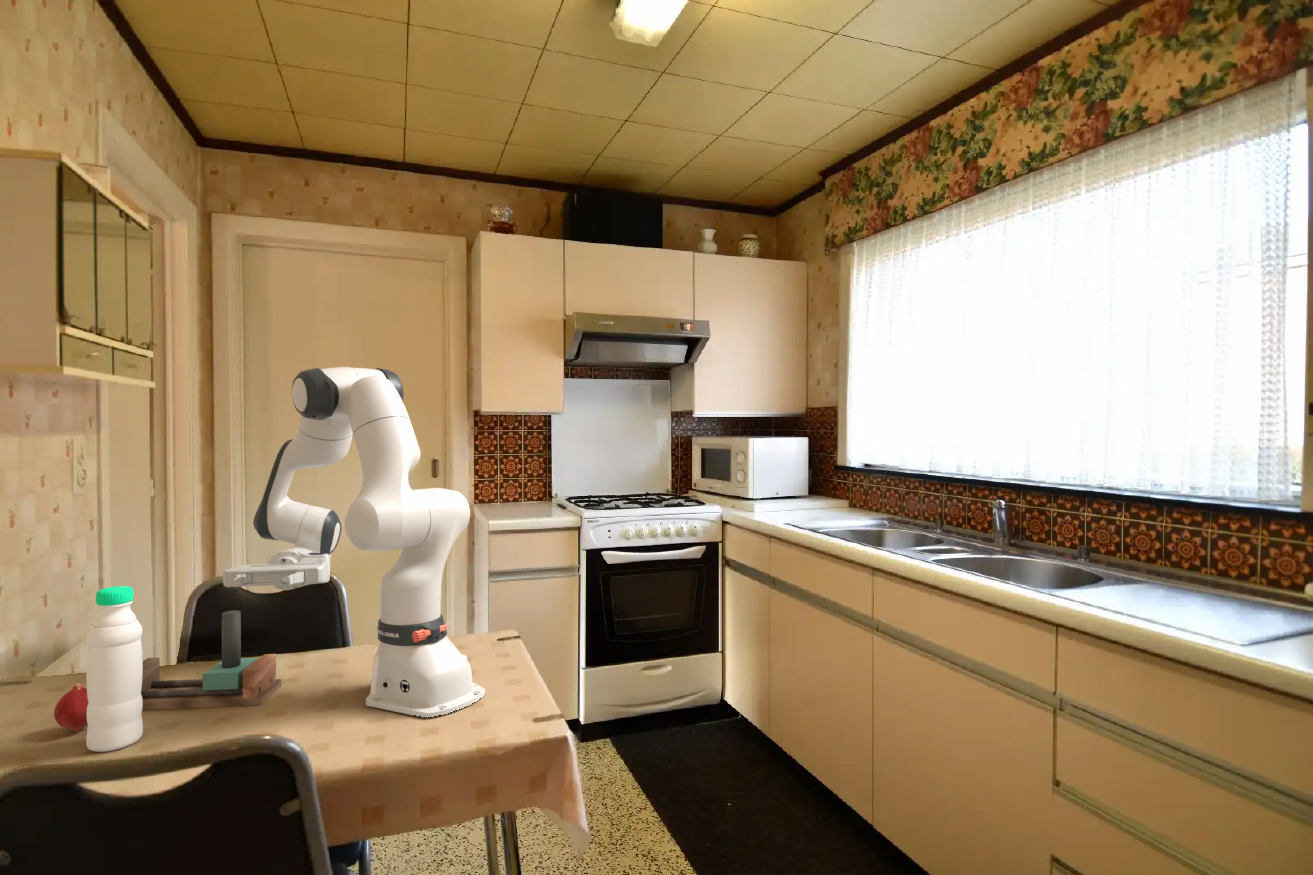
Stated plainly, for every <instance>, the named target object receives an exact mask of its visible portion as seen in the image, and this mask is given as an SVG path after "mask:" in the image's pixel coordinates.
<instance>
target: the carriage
mask: <svg viewBox="0 0 1313 875" xmlns="http://www.w3.org/2000/svg"><path fill="white" fill-rule="evenodd" d="M241 614H242V611H241V610H228V611H224V612H222V613H221V661H220V662H218V663H217V664H215V665H213V666H212V667H211V668H209V669H208V670H206V671H205V672H203V673H202V679H203V690H222V689H238V688H240V687H241V686H242V685H243V670H244V669H246V668H247V667H248V666H250V665H251V664H252V663H254V662H255V661H256V660H258V659H259V657H242V652H241V651H242V650H241V649H242V648H241V647H242V645H241V644H242V640H241V637H242V635H241V634H242V627H241V625H242V623H241V622H242V615H241Z"/></svg>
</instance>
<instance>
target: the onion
mask: <svg viewBox="0 0 1313 875" xmlns="http://www.w3.org/2000/svg"><path fill="white" fill-rule="evenodd" d="M87 706H88V697H87V687H84V686H83V685H82V684H81V683H75V684H74V685H73V686H72V689H71V690H69V691H68V692H66V693H65V694H64V695H63V696H62V697H61V698H60V699H59V700H58V701H57V703H56V705H55V707H54V710H53V717H54V720H55V721H56V723H57V724H58V725H59V726H61V727H62V728H65V729H68V730H70V731H71V732H74V733H78V732H80V731H82V730H83V729H84V728H85V727H88V723H87Z"/></svg>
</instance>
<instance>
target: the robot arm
mask: <svg viewBox="0 0 1313 875" xmlns="http://www.w3.org/2000/svg"><path fill="white" fill-rule="evenodd" d="M404 396H405V394H404V386H403V383H402V381H401V379H400V378H399V375H398V374H396V372H394V371H393V370H389V369H387V368H379V367H377V368H367V367H350V366H338V367H337V366H336V367H334V366H333V367H327V368H318V367H316V368H308V369H305V370H302V371H300V372H299V373H298V374H297V375H296V376H295V378H294V379H293V380H292V386H291V397H292V403H293V406H294V408H295V410H296V412H297V413H298V414H300V418H299V424H298V429H297V430H298V431H297V433H296V434H295V437H294V438H292V439H289V440H287V441H285V442H284V443H283V444H282V445H281V447H280V449H279V450H278V452H277V454H276V457H275V460H274V462H273V465H272V468H271V471H270V474H269V476H268V480H267V484H266V486H265V489H264V493H263V495H262V499H261V501H260V503H259V505H258V508H257V510H256V512H255V515H254V518H253V521H252V522H253V523H252V524H253V527H254V529H255V531H256V533H257V534H258V535H259V537H260V538H262V539H263V540H271V541H280V542H284V543H289V544H294V546H292V547H290V548H287V549H284V550H282V551H279V552H276V553H275V554H273V555H272V556H271V557H270V559H269V560H268V562H267V563H256V564H254V563H253V564H243V565H237V566H234V567H231V568H228V569H225V570H223V572H222V582H223V583H222V584H223V586H224V587H226V588H242V587H262V586H263V587H265V586H273V587H274V588H275V589H278V590H283V591H289V590H294V589H297V588H301V587H304V586H311V585H318V584H325V583H329V581H330V579H331V578H330V577H331V558H332V553H333V552H334V551H335V550H336V548H337V547H338V544H339V542H340V538H341V533H342V522H341V520H340V518H339V515H338V513H336V512H335V510H333V509H328V508H325V507H321V506H316V505H311V504H307V503H303V502H299V501H294V500H292V499H291V498H290V497H289V496H288V492H289V489H290V486H291V484H292V480H293V477H294V475H295V472H297V471H300V470H306V469H319V468H320V469H321V468H326V467H329V466H332V465H334V464H336V463H338V462H340V461H342V460H343V459H345V457H346V456H347V455H348V453H349V451H350V448H351V445H352V442H353V440H352V439H354V442H355V445H356V448H357V452H358V457H359V460H360V464H361V470H362V482H361V487H360V491H359V494H358V495H357V497H356V498H355V500H354V501H353V502H352V503H351V504H350V505H349V507H348V509H347V511H346V514H345V517H344V518H345V519H344V531H345V533H346V536H347V538H348V540H349V542H350V543H351V544H352V545H353V546H354V547H355V548H356V549H358V550H360V551H368V552H369V551H370V552H389V551H396V550H401V549H402V551H401V553H400V554H399V557H398V559H397V561H396V562H395V563H394V565H393V566H392V567H391V568H390V569H388V570H387V571H386V572H385V574H384V575H383V576H382V579H381V582H380V591H379V592H380V595H379V597H380V605H379V606H380V607H379V608H380V617H379V619H378V621H377V627H376V632H377V640H378V641H379V644H378V648H377V650H376V654H375V655H374V658H373V663H372V664H373V665H372V674H371V684H370V693H369V695H368V696H367V697H366V699H365V703H364V704H365V707H370V708H377V709H380V710H385V711H391V712H394V713H395V712H396V713H401V714H405V715H409V716H414V715H416V716H415V717H419V716H421V717H420V718H424V717H425V719H429V718H428V717H432V716H437V717H439V716H438V715H442V716H445V715H448V713H449V714H451V713H450V712H452V713H454V712H453V711H455V710H457V711H459V709H460V710H462V709H464V707H465V708H467V707H469V706H471V705H473V704H475V703H477V702H478V701H479V699H480V698H481V699H483V697H484V696H485V695H486V689H485V688H484V687H483V686H482V685H479V684H477V683H475V682H473V674H472V672H473V671H472V667H471V664H470V662H469V660H468V657H467V656H466V654H463V653H461V651H459V649H458V648H457V646H455V644H454V643H453V641H451V640H450V639H449V637H448V636H447V635H448V630H450V629H451V627H448V626H450V625H451V623H449V622H448V623H446V622H445V619H444V615H443V614H442V613H441V611H442V610H441V609H442V607H441V606H442V605H441V604H442V603H441V602H442V582H443V575H444V574H443V573H444V570H445V566H446V562H447V559H448V557H449V554H450V552H451V550H452V548H453V546H454V544H455V543H456V541H457V540H458V538H459V537H460V536H461V534H462V533H463V532H465V531H466V529H467V527H468V525H469V523H470V519H471V509H470V504H469V502H468V500H467V498H466V496H464V495H463V494H462V493H461V492H460V491H459V490H458V491H457V490H453V489H449V488H443V487H442V488H441V487H431V488H430V487H429V488H418V489H412V488H411V485H410V483H409V482H410V481H409V474H410V473H411V472H412V470H414V469H415V468H416V466H418V464H419V462H420V459H421V457H422V456H421V453H422V452H421V448H420V446H419V443H418V439H417V436H416V434H415V430H414V427H413V425H412V422H411V418H410V416H409V412H408V411H407V409H406V405H405V404H404ZM484 694H485V695H484ZM481 699H480V700H481ZM474 702H475V703H474ZM472 703H473V704H472ZM466 706H467V707H466ZM461 708H462V709H461ZM455 712H456V711H455ZM444 714H445V715H444ZM426 717H427V718H426ZM432 718H433V717H432Z"/></svg>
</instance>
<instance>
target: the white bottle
mask: <svg viewBox="0 0 1313 875" xmlns="http://www.w3.org/2000/svg"><path fill="white" fill-rule="evenodd" d="M134 594H135V592H134V589H133V587H131V586H128V585H118V586H117V585H116V586H110V587H105V588H101V589H99V590H97V592H96V594H95V604H96V607H97V608H98V609H99V613H98V614H97V616H96V617H95V619H94V621H93V624H92V625H91V626H90V628H89V630H88V632H87V634H86V638H85V639H86V640H85V641H86V644H87V653H86V674H85V675H86V681H85V682H86V689H87V697H88V706H87V723H88V725H87V727H86V728H87V729H86V740H85V742H86V748H87V749H88V750H90V751H91V752H94V753H95V752H97V753H106V752H112V751H117V750H120V749H123V748H127V747H130V746H131V745H134V744H135V743H136V742H137V741H139V740H140V739H141V738H142V736H143V732H144V727H143V726H144V725H143V724H144V723H143V717H142V714H143V713H142V712H143V710H142V707H143V701H142V695H141V688H142V672H143V661H144V660H143V647H142V645H143V643H142V636H143V631H144V629H143V627H142V624H141V623H140V621H139V620H138V619H137V616H136V614H135V613H134V611H132V609H131V605H132V603H133V600H134Z"/></svg>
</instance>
